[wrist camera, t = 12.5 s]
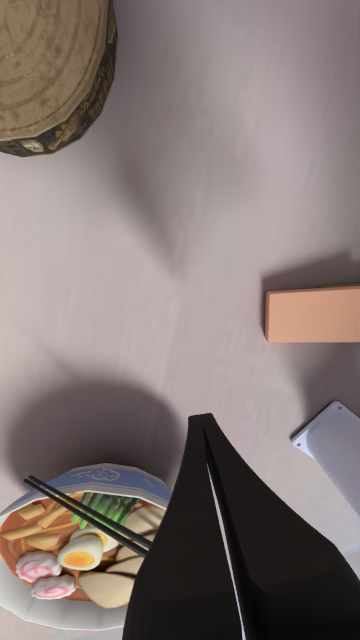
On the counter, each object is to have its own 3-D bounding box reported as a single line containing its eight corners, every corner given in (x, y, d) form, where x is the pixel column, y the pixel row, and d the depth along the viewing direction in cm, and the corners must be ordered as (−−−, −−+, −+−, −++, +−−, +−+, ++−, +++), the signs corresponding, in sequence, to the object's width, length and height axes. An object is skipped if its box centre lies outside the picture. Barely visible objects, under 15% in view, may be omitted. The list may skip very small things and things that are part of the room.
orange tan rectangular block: (266, 291, 20) (371, 285, 18) (264, 336, 21) (362, 335, 19) (269, 294, 18) (385, 287, 16) (268, 342, 20) (374, 342, 18)
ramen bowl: (-20, 487, 25) (-106, 590, 17) (104, 381, 22) (67, 447, 14) (122, 565, 31) (106, 667, 23) (234, 491, 28) (260, 580, 20)
